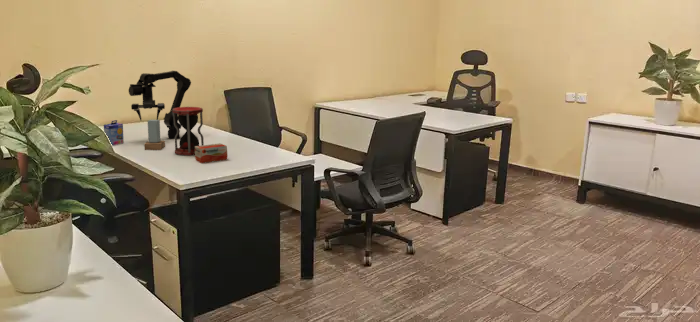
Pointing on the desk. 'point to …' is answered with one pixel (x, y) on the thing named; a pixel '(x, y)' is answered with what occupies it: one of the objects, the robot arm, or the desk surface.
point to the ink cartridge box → (114, 132)
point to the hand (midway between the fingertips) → (149, 120)
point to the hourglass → (187, 129)
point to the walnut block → (154, 145)
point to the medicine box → (210, 153)
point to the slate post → (154, 131)
